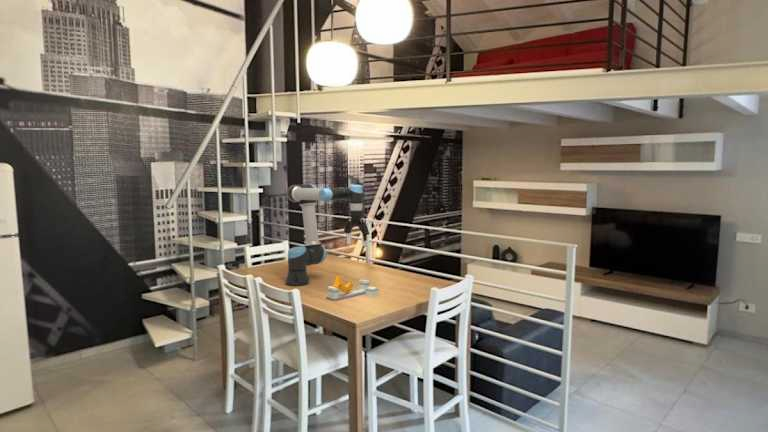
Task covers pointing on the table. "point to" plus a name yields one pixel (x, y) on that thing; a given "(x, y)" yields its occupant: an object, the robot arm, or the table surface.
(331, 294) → the module
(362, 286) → the module
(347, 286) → the orange irregular piece
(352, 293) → the din board
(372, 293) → the module
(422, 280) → the table surface
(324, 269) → the table surface
